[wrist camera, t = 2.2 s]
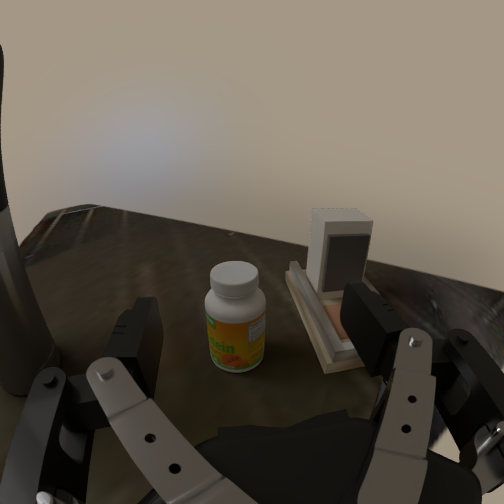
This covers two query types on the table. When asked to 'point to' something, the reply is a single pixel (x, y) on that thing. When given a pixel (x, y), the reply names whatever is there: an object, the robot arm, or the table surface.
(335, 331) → the birch tray
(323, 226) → the white padded block
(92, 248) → the table surface
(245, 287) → the supplement bottle
